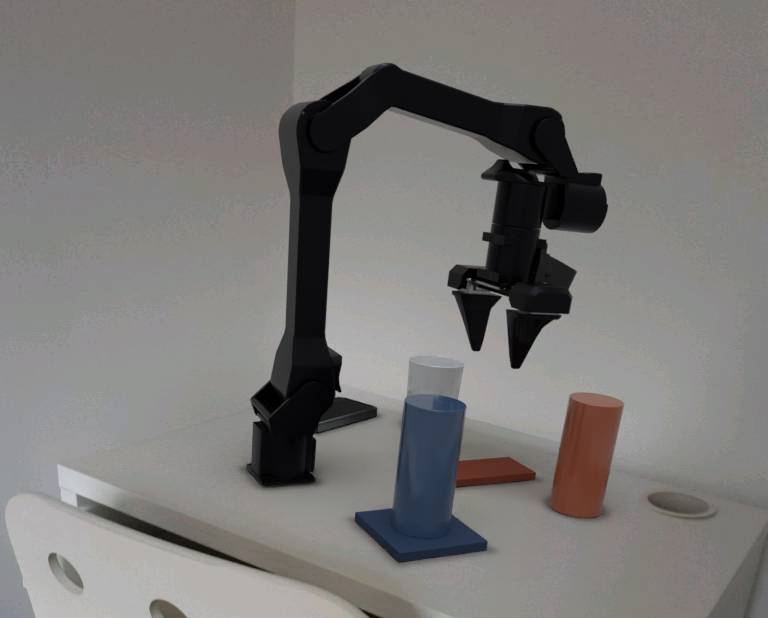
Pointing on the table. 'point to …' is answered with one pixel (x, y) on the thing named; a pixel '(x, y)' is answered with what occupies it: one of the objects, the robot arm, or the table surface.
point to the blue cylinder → (427, 465)
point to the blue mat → (419, 548)
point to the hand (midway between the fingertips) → (494, 359)
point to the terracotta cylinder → (585, 454)
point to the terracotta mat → (492, 471)
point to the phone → (345, 413)
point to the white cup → (434, 375)
